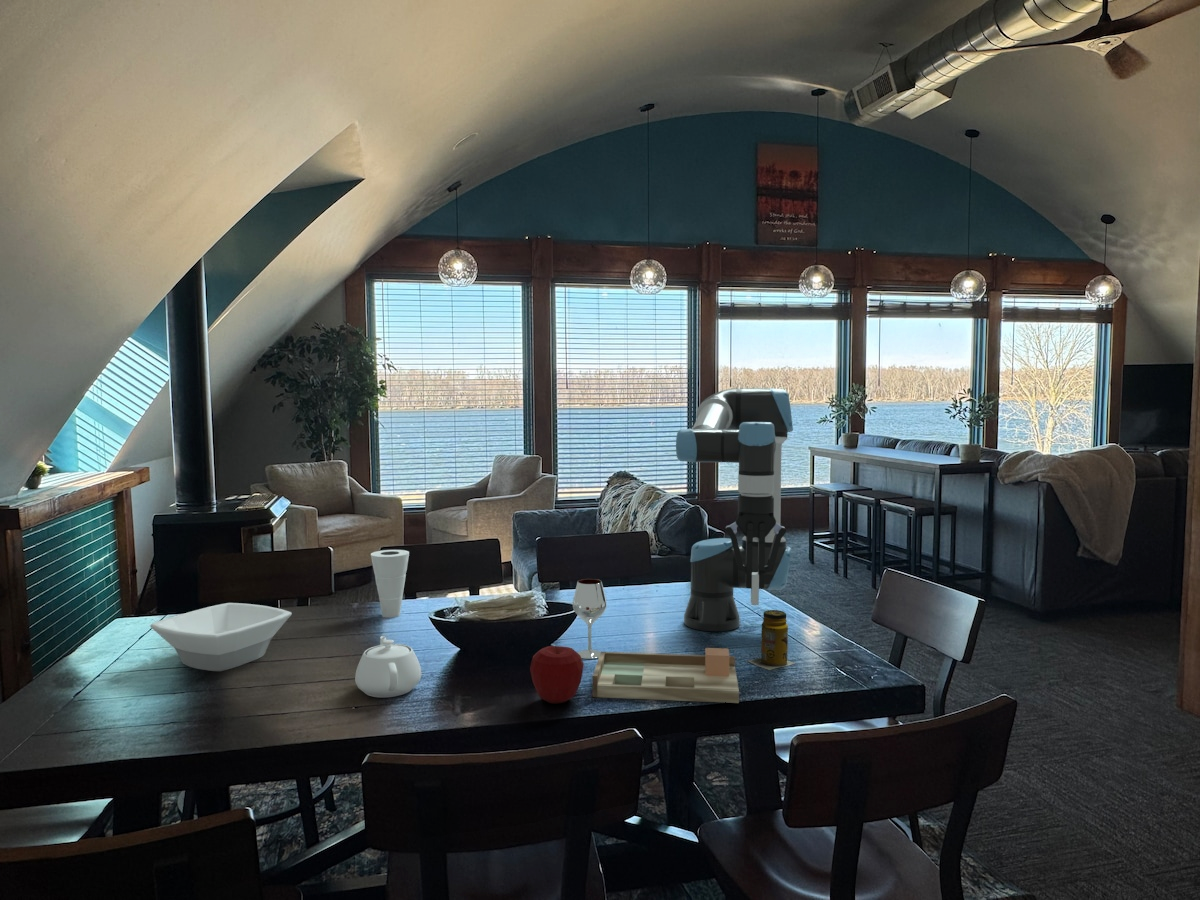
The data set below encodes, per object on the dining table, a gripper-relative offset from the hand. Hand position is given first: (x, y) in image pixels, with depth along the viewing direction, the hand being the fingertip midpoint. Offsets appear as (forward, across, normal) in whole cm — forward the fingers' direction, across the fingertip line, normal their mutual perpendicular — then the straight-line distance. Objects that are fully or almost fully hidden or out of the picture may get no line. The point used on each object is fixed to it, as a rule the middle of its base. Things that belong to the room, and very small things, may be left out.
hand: (754, 603), depth 172 cm
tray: (+18, +19, +3) cm, 26 cm away
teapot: (+18, +78, +11) cm, 81 cm away
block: (+15, +8, 0) cm, 17 cm away
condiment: (+18, -5, -15) cm, 24 cm away
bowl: (+18, +124, -3) cm, 125 cm away
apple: (+18, +41, +14) cm, 47 cm away
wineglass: (+18, +38, -16) cm, 45 cm away
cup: (+18, +99, -45) cm, 110 cm away
